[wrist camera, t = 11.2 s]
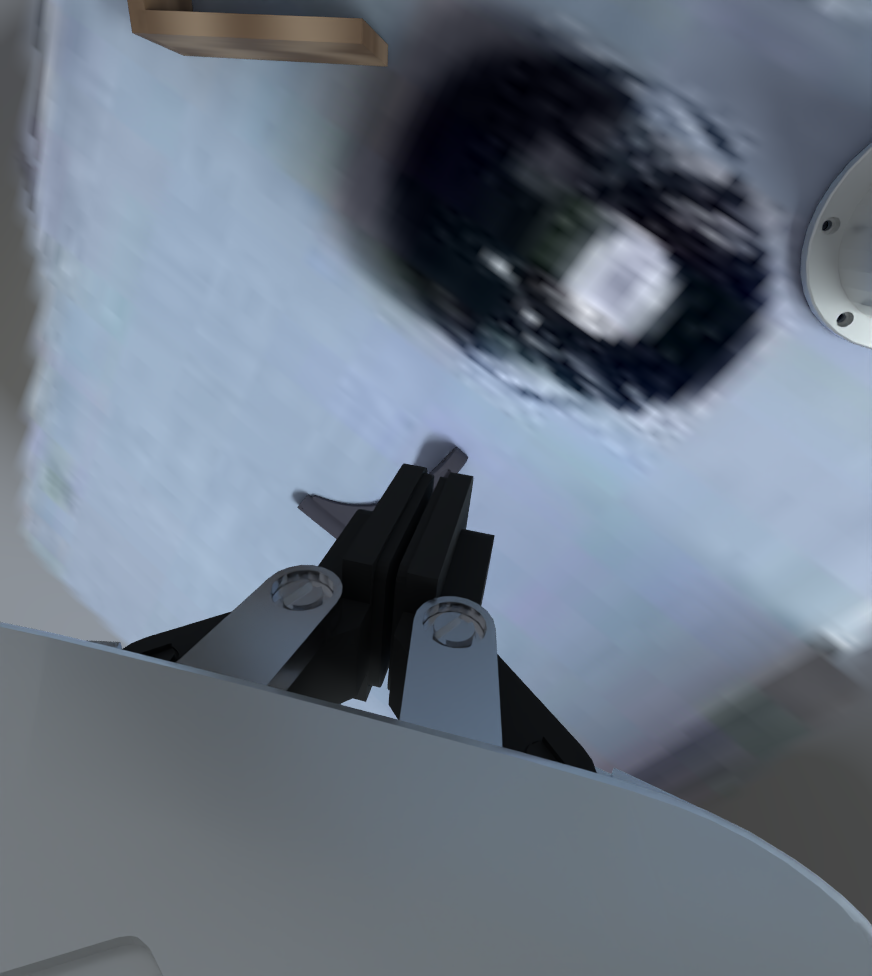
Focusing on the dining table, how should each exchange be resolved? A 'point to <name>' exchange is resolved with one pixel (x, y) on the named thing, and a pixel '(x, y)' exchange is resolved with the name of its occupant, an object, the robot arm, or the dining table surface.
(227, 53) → the box
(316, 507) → the bracket
